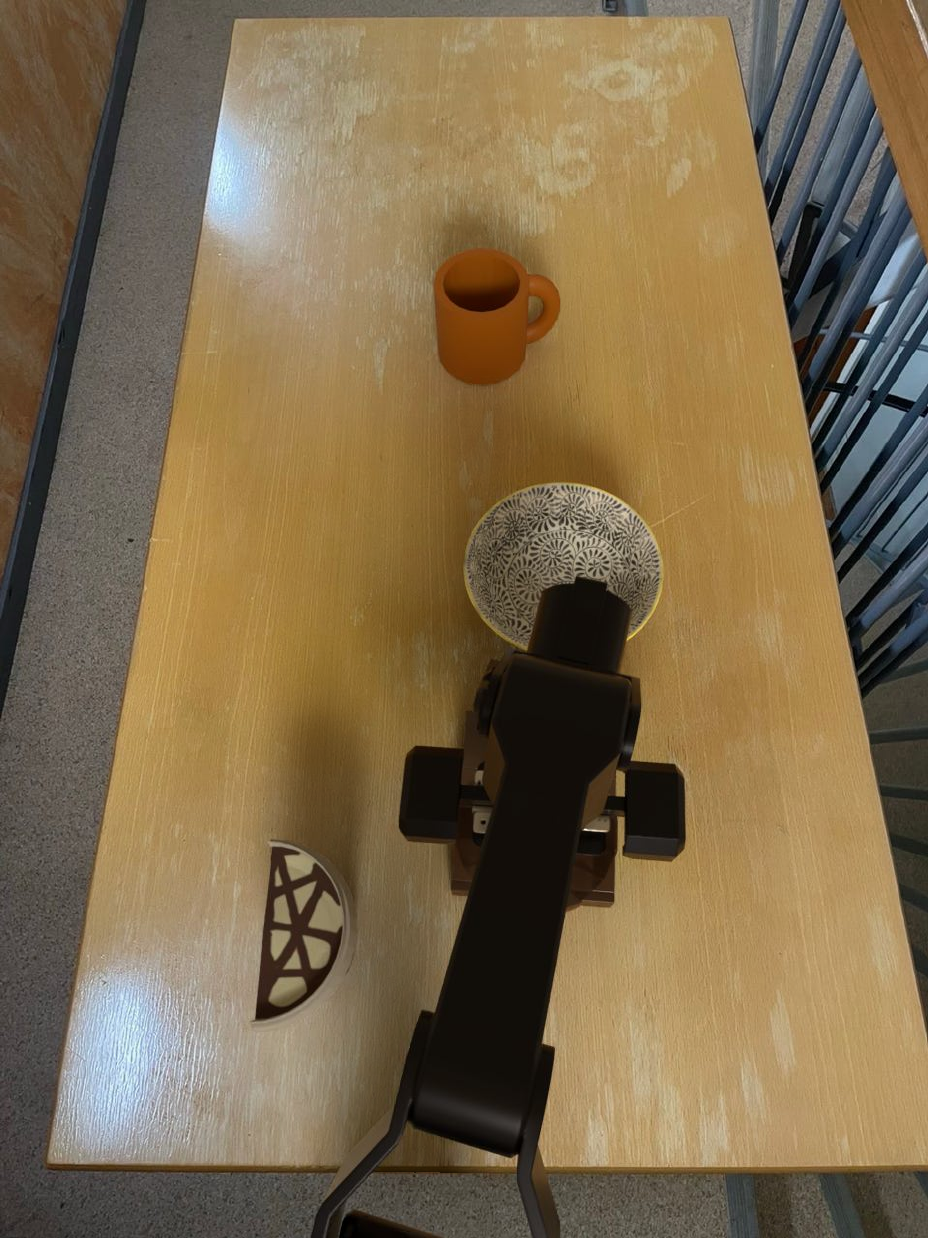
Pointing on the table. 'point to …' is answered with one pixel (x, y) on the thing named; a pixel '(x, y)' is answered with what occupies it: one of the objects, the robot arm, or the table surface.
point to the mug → (488, 314)
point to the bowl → (559, 555)
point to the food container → (302, 936)
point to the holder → (590, 872)
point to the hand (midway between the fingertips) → (535, 829)
